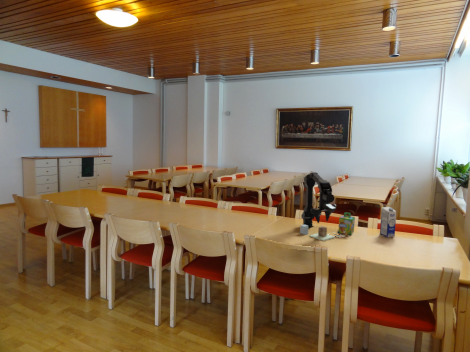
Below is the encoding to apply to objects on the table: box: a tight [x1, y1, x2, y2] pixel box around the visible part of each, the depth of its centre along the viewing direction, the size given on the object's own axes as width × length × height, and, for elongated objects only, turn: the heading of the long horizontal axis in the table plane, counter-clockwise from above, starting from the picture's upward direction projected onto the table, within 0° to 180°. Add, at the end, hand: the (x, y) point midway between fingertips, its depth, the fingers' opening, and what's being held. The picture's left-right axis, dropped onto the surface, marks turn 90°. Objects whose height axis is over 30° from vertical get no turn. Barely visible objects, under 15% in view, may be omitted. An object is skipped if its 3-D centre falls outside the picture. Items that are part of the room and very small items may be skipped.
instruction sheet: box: [333, 233, 346, 239], centre depth 232 cm, size 10×7×1 cm
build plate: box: [309, 232, 336, 242], centre depth 228 cm, size 12×12×1 cm
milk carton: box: [379, 206, 397, 238], centre depth 231 cm, size 7×7×20 cm
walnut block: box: [317, 225, 328, 237], centre depth 227 cm, size 4×4×6 cm
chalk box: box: [337, 212, 356, 236], centre depth 238 cm, size 9×9×15 cm
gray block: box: [299, 224, 309, 236], centre depth 235 cm, size 4×4×6 cm
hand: (322, 221), depth 226 cm, fingers open, 9 cm apart
